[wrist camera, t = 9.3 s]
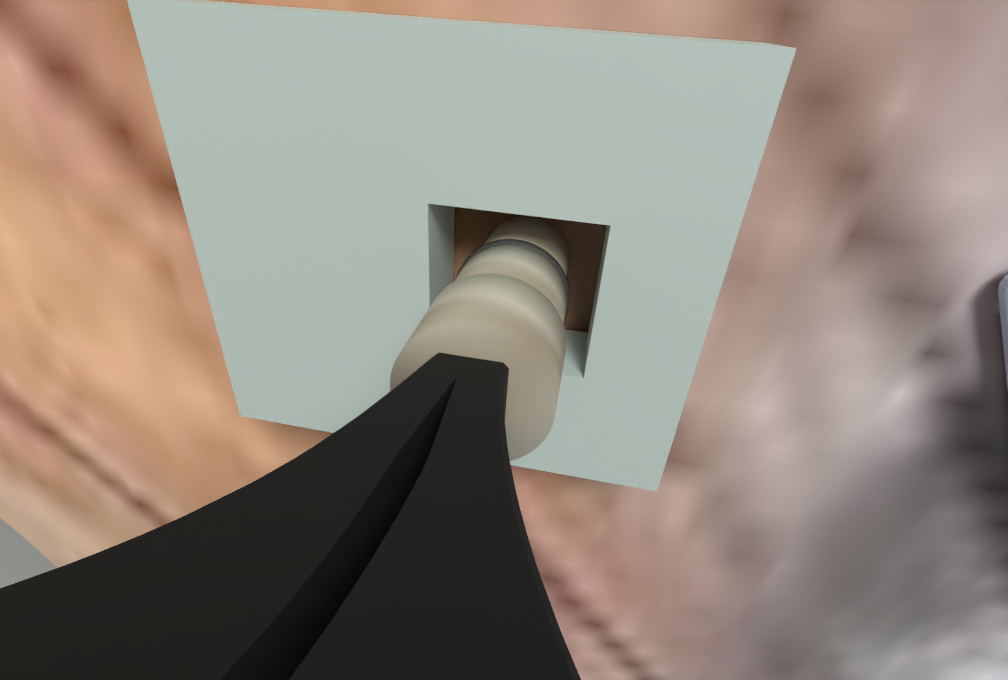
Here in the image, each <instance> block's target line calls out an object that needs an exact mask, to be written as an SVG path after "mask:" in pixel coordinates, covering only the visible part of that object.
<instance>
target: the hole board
mask: <svg viewBox="0 0 1008 680" xmlns="http://www.w3.org/2000/svg"><path fill="white" fill-rule="evenodd" d="M127 2H128V5H129V9H130V13H131V16H132V20H133V24H134V27H135V31H136V35H137V38H138V42H139V46H140V49H141V53H142V57H143V60H144V64H145V68H146V71H147V75H148V79H149V82H150V86H151V90H152V93H153V97H154V101H155V104H156V108H157V112H158V115H159V119H160V123H161V126H162V130H163V134H164V137H165V141H166V145H167V148H168V152H169V156H170V160H171V163H172V167H173V171H174V174H175V178H176V182H177V185H178V189H179V193H180V196H181V200H182V204H183V207H184V211H185V215H186V218H187V222H188V226H189V229H190V233H191V237H192V240H193V244H194V248H195V251H196V255H197V259H198V262H199V266H200V270H201V273H202V277H203V281H204V284H205V288H206V292H207V295H208V299H209V303H210V306H211V310H212V314H213V317H214V321H215V325H216V328H217V332H218V336H219V340H220V343H221V347H222V351H223V354H224V358H225V362H226V365H227V369H228V373H229V376H230V380H231V384H232V387H233V391H234V395H235V398H236V402H237V406H238V409H239V413H240V416H243V417H249V418H254V419H260V420H265V421H271V422H276V423H282V424H287V425H293V426H298V427H304V428H309V429H315V430H320V431H326V432H331V433H334V432H336V431H337V430H339V429H340V428H342V427H343V426H344V425H346V424H347V423H349V422H350V421H352V420H353V419H355V418H356V417H357V416H359V415H360V414H361V413H363V412H364V411H365V410H367V409H368V408H369V407H371V406H372V405H373V404H375V403H376V402H377V401H378V400H380V399H381V398H382V397H384V396H385V395H386V394H387V393H389V392H390V377H391V371H392V368H393V365H394V363H395V361H396V359H397V357H398V355H399V354H400V352H401V351H402V349H403V348H404V346H405V345H406V343H407V341H408V340H409V338H410V337H411V335H412V334H413V332H414V331H415V329H416V328H417V326H418V325H419V323H420V322H421V320H422V318H423V317H424V315H425V314H426V312H427V311H428V309H429V308H430V306H431V305H432V303H433V302H434V300H435V299H436V297H437V296H438V295H439V294H440V292H441V291H443V290H444V289H445V288H446V287H447V286H448V285H450V284H451V283H453V282H454V213H455V207H461V208H469V209H477V210H486V211H494V212H502V213H510V214H519V215H527V216H535V217H543V218H552V219H560V220H568V221H576V222H585V223H593V224H601V225H607V226H606V232H605V238H604V244H603V249H602V255H601V261H600V267H599V273H598V278H597V284H596V290H595V296H594V302H593V307H592V313H591V319H590V325H589V331H588V333H587V332H581V331H574V330H567V329H565V332H566V352H565V358H564V364H563V370H562V377H561V383H560V389H559V395H558V401H557V408H556V414H555V419H554V423H553V426H552V428H551V431H550V432H549V434H548V436H547V437H546V439H545V440H544V441H543V442H542V443H541V444H540V445H539V446H538V447H537V448H536V449H535V450H533V451H532V452H530V453H529V454H527V455H525V456H523V457H521V458H518V459H515V460H512V461H510V465H514V466H519V467H525V468H530V469H536V470H541V471H547V472H552V473H558V474H563V475H569V476H574V477H580V478H585V479H591V480H596V481H602V482H607V483H613V484H619V485H624V486H630V487H635V488H641V489H646V490H652V491H657V490H658V486H659V483H660V480H661V477H662V474H663V471H664V467H665V464H666V461H667V458H668V455H669V452H670V448H671V445H672V442H673V439H674V436H675V432H676V429H677V426H678V423H679V420H680V417H681V413H682V410H683V407H684V404H685V401H686V397H687V394H688V391H689V388H690V385H691V382H692V378H693V375H694V372H695V369H696V366H697V363H698V359H699V356H700V353H701V350H702V347H703V343H704V340H705V337H706V334H707V331H708V328H709V324H710V321H711V318H712V315H713V312H714V308H715V305H716V302H717V299H718V296H719V293H720V289H721V286H722V283H723V280H724V277H725V274H726V270H727V267H728V264H729V261H730V258H731V254H732V251H733V248H734V245H735V242H736V239H737V235H738V232H739V229H740V226H741V223H742V219H743V216H744V213H745V210H746V207H747V204H748V200H749V197H750V194H751V191H752V188H753V185H754V181H755V178H756V175H757V172H758V169H759V165H760V162H761V159H762V156H763V153H764V150H765V146H766V143H767V140H768V137H769V134H770V130H771V127H772V124H773V121H774V118H775V115H776V111H777V108H778V105H779V102H780V99H781V96H782V92H783V89H784V86H785V83H786V80H787V76H788V73H789V70H790V67H791V64H792V61H793V57H794V54H795V51H796V48H792V47H786V46H781V45H775V44H770V43H763V42H750V41H736V40H723V39H710V38H697V37H683V36H670V35H657V34H644V33H630V32H617V31H604V30H591V29H577V28H564V27H551V26H538V25H524V24H511V23H498V22H485V21H471V20H458V19H445V18H432V17H418V16H405V15H392V14H379V13H365V12H352V11H339V10H326V9H313V8H299V7H286V6H273V5H260V4H246V3H233V2H220V1H207V0H127Z"/></svg>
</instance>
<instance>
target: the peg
mask: <svg viewBox="0 0 1008 680" xmlns="http://www.w3.org/2000/svg"><path fill="white" fill-rule="evenodd" d="M569 262H570V256H569V250H568V246H567V243H566V241H565V239H564V238H563V236H562V235H561V233H560V232H559V231H558V230H557V229H556V228H555V227H554V226H552V225H551V224H550V223H548V222H546V221H544V220H542V219H539V218H536V217H531V216H518V217H513V218H510V219H507V220H505V221H503V222H502V223H500V224H499V225H497V226H496V227H495V228H494V229H493V231H492V232H491V233H490V235H489V236H488V238H487V240H486V241H485V243H484V245H482V246H480V247H479V248H477V249H476V250H474V251H473V252H472V253H471V254H470V255H469V256H468V257H467V259H466V260H465V261H464V263H463V264H462V266H461V268H460V270H459V271H458V274H457V277H456V279H455V281H454V282H453V283H451V284H450V285H448V286H447V287H446V288H445V289H444V290H443V291H441V292H440V294H439V295H438V296H437V297H436V299H435V300H434V302H433V303H432V305H431V306H430V308H429V309H428V311H427V312H426V314H425V315H424V317H423V318H422V320H421V322H420V323H419V325H418V326H417V328H416V329H415V331H414V332H413V334H412V335H411V337H410V338H409V340H408V341H407V343H406V345H405V346H404V348H403V349H402V351H401V352H400V354H399V355H398V357H397V359H396V361H395V363H394V365H393V368H392V371H391V377H390V391H391V390H393V389H394V388H395V387H396V386H398V385H399V384H400V383H401V382H403V381H404V380H405V379H406V378H407V377H409V376H410V375H411V374H412V373H413V372H415V371H416V370H417V369H418V368H420V367H421V366H422V365H423V364H424V363H426V362H427V361H428V360H429V359H431V358H432V357H433V356H434V355H436V354H437V353H446V354H452V355H458V356H465V357H471V358H477V359H484V360H491V361H497V362H504V364H505V365H506V366H507V367H508V368H509V375H508V387H507V400H506V412H505V428H506V438H507V447H508V453H509V459H510V461H512V460H515V459H518V458H521V457H523V456H525V455H527V454H529V453H530V452H532V451H533V450H535V449H536V448H537V447H538V446H539V445H540V444H541V443H542V442H543V441H544V440H545V439H546V437H547V436H548V434H549V432H550V431H551V428H552V426H553V423H554V419H555V414H556V408H557V401H558V395H559V389H560V383H561V377H562V370H563V364H564V358H565V352H566V332H565V328H564V320H565V318H566V315H567V313H568V308H569V302H570V287H569V283H568V279H567V273H568V268H569Z"/></svg>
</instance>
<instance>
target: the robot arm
mask: <svg viewBox="0 0 1008 680" xmlns="http://www.w3.org/2000/svg"><path fill="white" fill-rule="evenodd" d="M998 297H999V308H1000V318H1001V328H1002V338H1003V349H1004V359H1005V369H1006V380H1007V390H1008V274H1007V275H1006V276H1005V277H1004V278H1003V279H1002V280H1001V282H1000V283H999V287H998ZM508 375H509V368H508V367H507V366H506V365H505V364H504V362H497V361H491V360H484V359H477V358H471V357H465V356H458V355H452V354H446V353H437V354H436V355H434V356H433V357H432V358H431V359H429V360H428V361H427V362H426V363H424V364H423V365H422V366H421V367H420V368H418V369H417V370H416V371H415V372H413V373H412V374H411V375H410V376H409V377H407V378H406V379H405V380H404V381H403V382H401V383H400V384H399V385H398V386H396V387H395V388H394V389H393V390H391V391H390V392H389V393H387V394H386V395H385V396H384V397H382V398H381V399H380V400H378V401H377V402H376V403H375V404H373V405H372V406H371V407H369V408H368V409H367V410H365V411H364V412H363V413H361V414H360V415H359V416H357V417H356V418H355V419H353V420H352V421H350V422H349V423H347V424H346V425H344V426H343V427H342V428H340V429H339V430H337V431H336V432H334V433H333V434H331V435H330V436H329V437H327V438H326V439H324V440H323V441H321V442H320V443H318V444H317V445H315V446H314V447H312V448H311V449H309V450H307V451H306V452H304V453H303V454H301V455H300V456H298V457H296V458H295V459H293V460H291V461H289V462H288V463H286V464H284V465H282V466H281V467H279V468H277V469H276V470H274V471H272V472H270V473H269V474H267V475H265V476H263V477H261V478H260V479H258V480H256V481H254V482H252V483H250V484H248V485H246V486H244V487H242V488H240V489H238V490H236V491H234V492H232V493H230V494H228V495H226V496H224V497H222V498H220V499H218V500H216V501H214V502H212V503H210V504H208V505H206V506H204V507H202V508H200V509H198V510H196V511H194V512H192V513H190V514H188V515H186V516H183V517H181V518H179V519H177V520H175V521H172V522H170V523H168V524H165V525H163V526H161V527H159V528H156V529H154V530H152V531H149V532H147V533H145V534H143V535H140V536H138V537H135V538H133V539H131V540H128V541H126V542H123V543H121V544H118V545H116V546H113V547H111V548H108V549H106V550H104V551H101V552H99V553H96V554H94V555H91V556H88V557H86V558H83V559H81V560H78V561H76V562H73V563H70V564H68V565H65V566H62V567H59V568H57V569H54V570H51V571H48V572H45V573H43V574H40V575H37V576H34V577H32V578H29V579H26V580H23V581H20V582H17V583H15V584H12V585H9V586H6V587H3V588H0V680H581V679H580V676H579V674H578V672H577V669H576V667H575V664H574V662H573V660H572V657H571V655H570V653H569V650H568V648H567V645H566V643H565V641H564V638H563V636H562V633H561V631H560V628H559V626H558V623H557V620H556V618H555V615H554V612H553V609H552V607H551V604H550V601H549V598H548V596H547V593H546V590H545V588H544V585H543V582H542V579H541V577H540V574H539V571H538V568H537V565H536V562H535V559H534V556H533V553H532V549H531V546H530V543H529V540H528V536H527V533H526V529H525V526H524V522H523V518H522V515H521V511H520V507H519V503H518V499H517V495H516V490H515V486H514V481H513V475H512V470H511V465H510V459H509V453H508V447H507V438H506V428H505V412H506V400H507V387H508Z"/></svg>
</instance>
